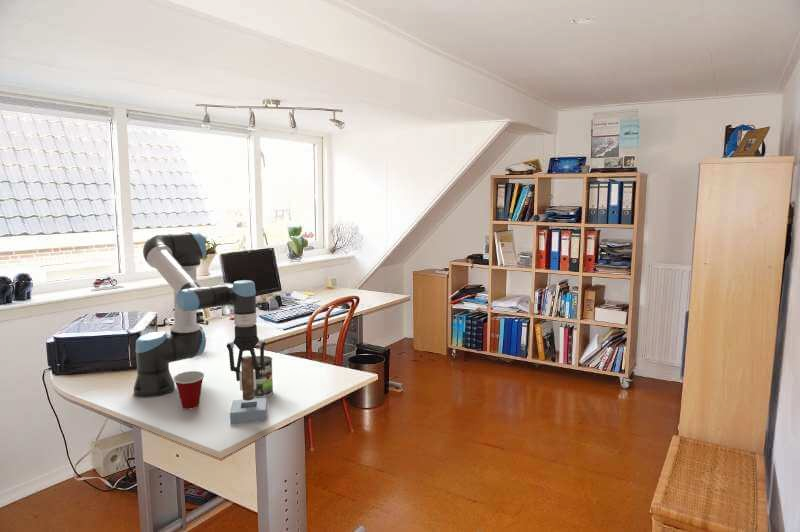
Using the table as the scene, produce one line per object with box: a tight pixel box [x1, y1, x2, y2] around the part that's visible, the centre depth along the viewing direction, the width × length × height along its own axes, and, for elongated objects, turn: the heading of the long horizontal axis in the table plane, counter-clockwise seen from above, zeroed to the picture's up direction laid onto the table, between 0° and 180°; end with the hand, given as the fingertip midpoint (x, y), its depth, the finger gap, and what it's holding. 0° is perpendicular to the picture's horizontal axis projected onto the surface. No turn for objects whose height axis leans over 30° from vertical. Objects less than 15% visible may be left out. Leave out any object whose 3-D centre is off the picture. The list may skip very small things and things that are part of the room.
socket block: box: [229, 397, 268, 425], centre depth 191 cm, size 12×12×4 cm
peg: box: [240, 355, 254, 400], centre depth 189 cm, size 4×4×15 cm
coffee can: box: [253, 355, 274, 398], centre depth 212 cm, size 10×10×14 cm
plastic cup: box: [172, 370, 205, 410], centre depth 199 cm, size 11×11×12 cm
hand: (248, 388), depth 190 cm, fingers closed on peg, 4 cm apart
